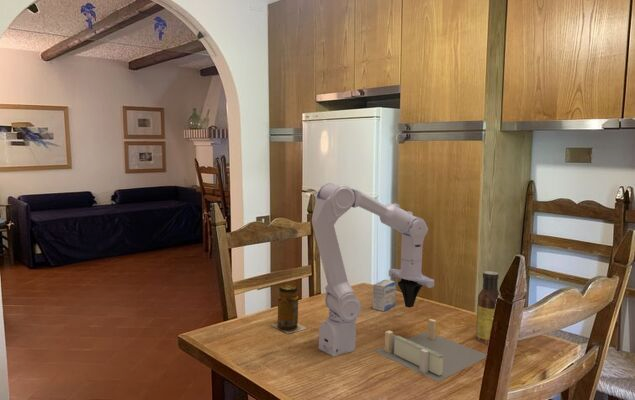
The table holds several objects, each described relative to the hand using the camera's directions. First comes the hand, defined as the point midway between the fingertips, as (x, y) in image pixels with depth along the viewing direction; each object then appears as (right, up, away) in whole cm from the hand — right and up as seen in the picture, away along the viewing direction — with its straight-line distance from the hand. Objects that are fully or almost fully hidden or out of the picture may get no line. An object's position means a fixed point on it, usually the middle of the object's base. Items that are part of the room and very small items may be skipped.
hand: (409, 306), depth 129 cm
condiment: (-34, -8, +8) cm, 36 cm away
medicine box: (-3, -7, +27) cm, 28 cm away
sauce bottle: (+22, -10, 0) cm, 24 cm away
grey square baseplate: (+4, -11, -10) cm, 15 cm away
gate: (-2, -10, -16) cm, 19 cm away
